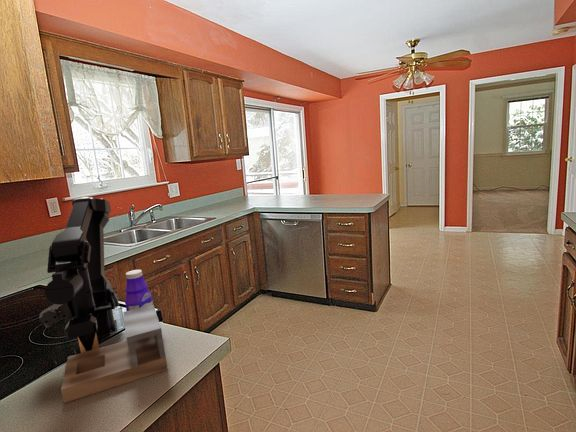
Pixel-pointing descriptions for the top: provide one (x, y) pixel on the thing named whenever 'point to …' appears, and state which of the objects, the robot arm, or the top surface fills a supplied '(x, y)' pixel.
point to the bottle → (137, 291)
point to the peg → (95, 346)
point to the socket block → (118, 358)
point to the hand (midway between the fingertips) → (89, 347)
